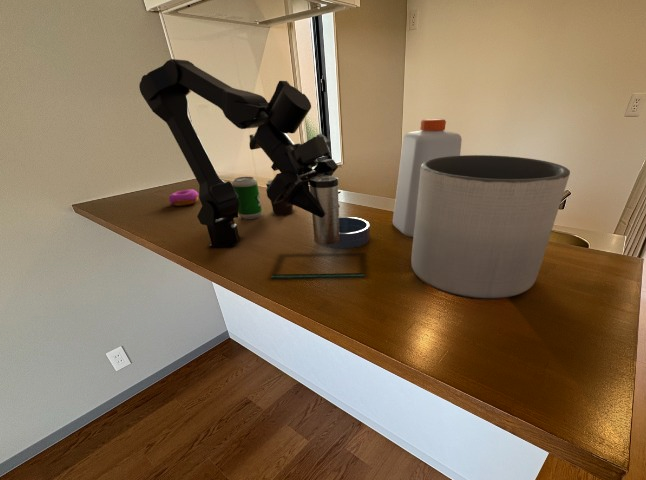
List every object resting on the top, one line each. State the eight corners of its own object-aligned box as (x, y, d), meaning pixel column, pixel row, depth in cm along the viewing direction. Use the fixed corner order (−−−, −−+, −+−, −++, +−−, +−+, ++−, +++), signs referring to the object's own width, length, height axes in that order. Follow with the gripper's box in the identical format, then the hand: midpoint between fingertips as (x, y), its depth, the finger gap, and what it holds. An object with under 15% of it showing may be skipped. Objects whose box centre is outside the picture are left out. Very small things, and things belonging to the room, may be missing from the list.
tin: (308, 242, 69) (303, 179, 62) (322, 233, 73) (319, 174, 66) (331, 247, 67) (328, 182, 60) (344, 237, 71) (343, 176, 64)
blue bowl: (318, 251, 81) (317, 234, 79) (322, 232, 92) (321, 217, 90) (370, 250, 81) (370, 233, 79) (367, 231, 92) (367, 216, 90)
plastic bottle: (408, 241, 85) (418, 122, 70) (388, 223, 98) (393, 118, 83) (458, 235, 89) (478, 120, 74) (432, 218, 101) (445, 117, 86)
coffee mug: (282, 217, 104) (278, 186, 99) (265, 213, 109) (260, 182, 103) (307, 209, 112) (304, 179, 107) (290, 205, 116) (286, 176, 111)
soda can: (259, 219, 103) (252, 181, 96) (236, 220, 103) (227, 181, 97) (265, 212, 109) (259, 175, 103) (243, 212, 109) (236, 176, 103)
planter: (411, 247, 82) (419, 154, 70) (515, 252, 78) (543, 155, 66) (409, 299, 61) (420, 179, 49) (552, 310, 57) (602, 182, 45)
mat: (271, 279, 69) (271, 277, 69) (281, 255, 79) (281, 254, 79) (364, 277, 69) (364, 275, 69) (362, 254, 79) (362, 252, 79)
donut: (182, 199, 125) (178, 187, 123) (206, 200, 124) (203, 188, 122) (165, 207, 117) (161, 194, 114) (191, 207, 115) (187, 195, 113)
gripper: (269, 122, 52) (330, 198, 54) (328, 116, 66) (375, 177, 68) (242, 169, 60) (296, 235, 61) (300, 155, 73) (343, 209, 75)
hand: (331, 212), depth 66 cm, fingers closed on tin, 5 cm apart
